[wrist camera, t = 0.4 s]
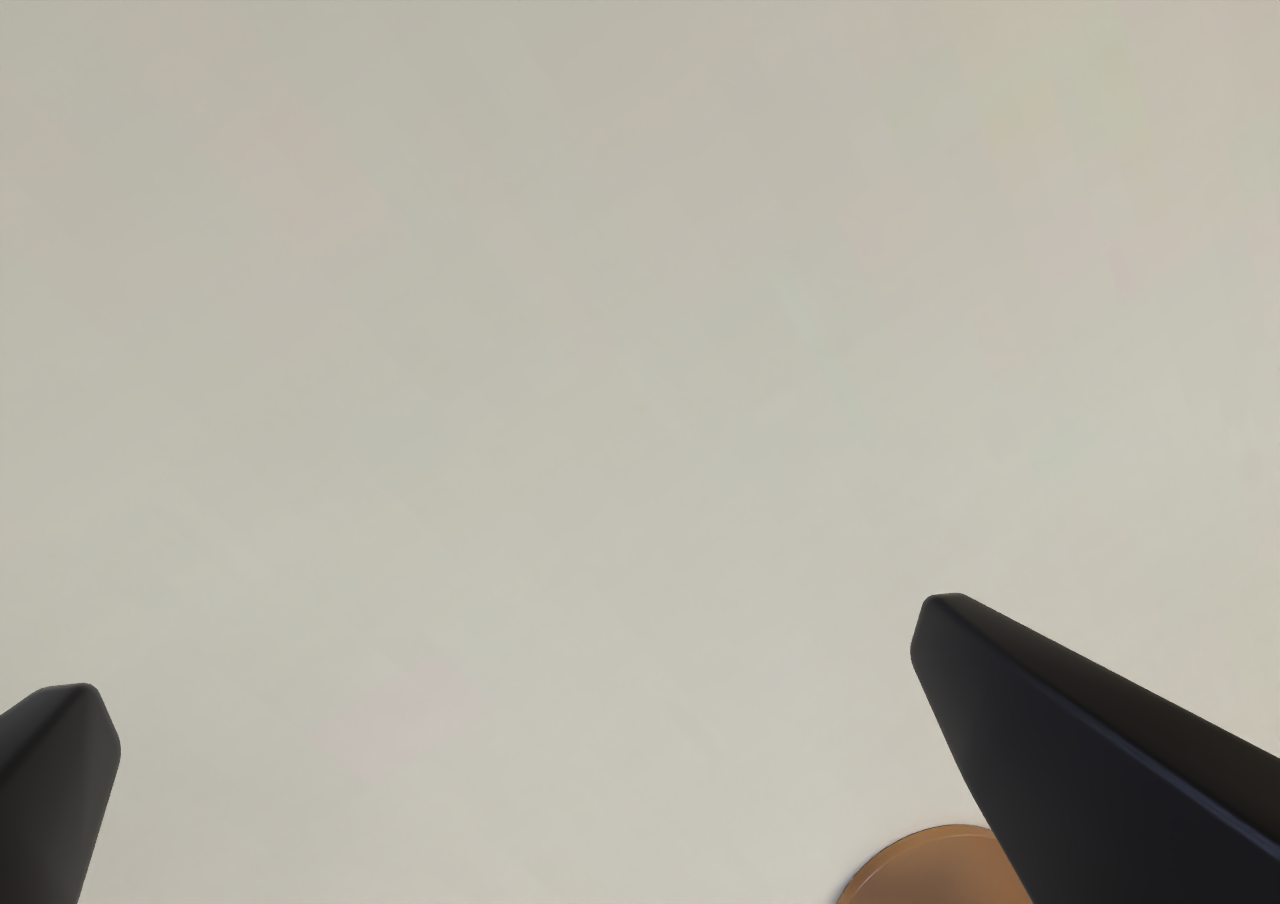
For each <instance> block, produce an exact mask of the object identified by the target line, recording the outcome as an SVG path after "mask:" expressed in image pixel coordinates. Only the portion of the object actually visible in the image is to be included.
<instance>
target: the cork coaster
mask: <svg viewBox="0 0 1280 904" xmlns="http://www.w3.org/2000/svg"><path fill="white" fill-rule="evenodd" d="M837 904H1033V902H1032V901H1031V899H1030V897H1029V895H1028V893H1027V892H1026V890H1025V888H1024V886H1023V885H1022V883H1021V881H1020V879H1019V878H1018V876H1017V874H1016V872H1015V870H1014V869H1013V867H1012V865H1011V863H1010V862H1009V860H1008V858H1007V856H1006V855H1005V853H1004V851H1003V849H1002V847H1001V846H1000V844H999V842H998V840H997V839H996V837H995V835H994V833H993V831H991V830H989V829H985V828H982V827H978V826H971V825H947V826H940V827H935V828H931V829H927V830H923V831H921V832H918V833H915V834H912V835H910V836H908V837H906V838H904V839H901V840H899V841H897V842H896V843H894V844H892V845H891V846H889V847H887V848H886V849H884V850H883V851H882V852H880V853H879V854H878V855H876V856H875V857H873V858H872V859H871V860H870V861H869V862H868V863H867V864H866V865H865V866H864V867H862V869H861V870H860V871H859V872H858V873H857V874H856V875H855V876H854V877H853V879H852V880H851V881H850V883H849V884H848V886H847V887H846V888H845V890H844V892H843V893H842V895H841V897H840V899H839V900H838V903H837Z"/></svg>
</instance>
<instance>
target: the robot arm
mask: <svg viewBox="0 0 1280 904" xmlns="http://www.w3.org/2000/svg"><path fill="white" fill-rule="evenodd" d="M910 655H911V661H912V664H913V667H914V670H915V672H916V674H917V676H918V679H919V681H920V683H921V685H922V688H923V690H924V692H925V694H926V697H927V699H928V701H929V703H930V706H931V708H932V710H933V712H934V715H935V717H936V719H937V721H938V724H939V726H940V728H941V730H942V733H943V735H944V737H945V739H946V742H947V744H948V746H949V748H950V751H951V753H952V755H953V757H954V760H955V762H956V764H957V766H958V768H959V770H960V772H961V774H962V776H963V779H964V781H965V783H966V784H967V786H968V788H969V790H970V792H971V794H972V796H973V798H974V799H975V801H976V803H977V805H978V807H979V808H980V810H981V812H982V814H983V816H984V817H985V819H986V821H987V823H988V824H989V826H990V828H991V830H992V831H993V833H994V835H995V837H996V839H997V840H998V842H999V844H1000V846H1001V847H1002V849H1003V851H1004V853H1005V855H1006V856H1007V858H1008V860H1009V862H1010V863H1011V865H1012V867H1013V869H1014V870H1015V872H1016V874H1017V876H1018V878H1019V879H1020V881H1021V883H1022V885H1023V886H1024V888H1025V890H1026V892H1027V893H1028V895H1029V897H1030V899H1031V901H1032V902H1033V904H1280V759H1279V758H1278V757H1276V756H1274V755H1272V754H1270V753H1268V752H1266V751H1264V750H1262V749H1260V748H1258V747H1256V746H1254V745H1253V744H1251V743H1249V742H1247V741H1245V740H1243V739H1241V738H1239V737H1237V736H1235V735H1233V734H1231V733H1230V732H1228V731H1226V730H1224V729H1222V728H1220V727H1218V726H1216V725H1214V724H1212V723H1210V722H1208V721H1206V720H1205V719H1203V718H1201V717H1199V716H1197V715H1195V714H1193V713H1191V712H1189V711H1187V710H1185V709H1183V708H1181V707H1180V706H1178V705H1176V704H1174V703H1172V702H1170V701H1168V700H1166V699H1164V698H1162V697H1160V696H1158V695H1156V694H1155V693H1153V692H1151V691H1149V690H1147V689H1145V688H1143V687H1141V686H1139V685H1137V684H1135V683H1133V682H1132V681H1130V680H1128V679H1126V678H1124V677H1122V676H1120V675H1118V674H1116V673H1114V672H1112V671H1110V670H1108V669H1107V668H1105V667H1103V666H1101V665H1099V664H1097V663H1095V662H1093V661H1091V660H1089V659H1087V658H1085V657H1083V656H1082V655H1080V654H1078V653H1076V652H1074V651H1072V650H1070V649H1068V648H1066V647H1064V646H1062V645H1060V644H1059V643H1057V642H1055V641H1053V640H1051V639H1049V638H1047V637H1045V636H1043V635H1041V634H1039V633H1037V632H1035V631H1034V630H1032V629H1030V628H1028V627H1026V626H1024V625H1022V624H1020V623H1018V622H1016V621H1014V620H1012V619H1010V618H1009V617H1007V616H1005V615H1003V614H1001V613H999V612H997V611H995V610H993V609H991V608H989V607H987V606H986V605H984V604H982V603H980V602H978V601H976V600H974V599H972V598H970V597H968V596H966V595H964V594H961V593H948V594H938V595H932V596H929V597H928V598H927V599H926V600H925V601H924V602H923V605H922V608H921V611H920V614H919V618H918V621H917V625H916V628H915V632H914V635H913V638H912V642H911V647H910ZM120 756H121V746H120V740H119V737H118V734H117V732H116V730H115V727H114V725H113V723H112V720H111V718H110V716H109V714H108V711H107V709H106V707H105V704H104V702H103V700H102V698H101V695H100V693H99V692H98V690H97V689H96V688H95V687H94V686H93V685H91V684H87V683H77V684H67V685H58V686H49V687H45V688H41V689H39V690H37V691H35V692H34V693H32V694H30V695H29V696H27V697H26V698H25V699H23V700H22V701H20V702H19V703H17V704H16V705H15V706H13V707H12V708H10V709H9V710H7V711H6V712H5V713H3V714H2V715H0V904H77V903H78V900H79V897H80V893H81V890H82V887H83V883H84V880H85V877H86V873H87V870H88V867H89V863H90V860H91V857H92V853H93V850H94V847H95V843H96V840H97V837H98V833H99V830H100V827H101V823H102V820H103V817H104V813H105V810H106V807H107V803H108V800H109V797H110V793H111V790H112V787H113V783H114V780H115V777H116V773H117V770H118V766H119V762H120Z"/></svg>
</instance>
